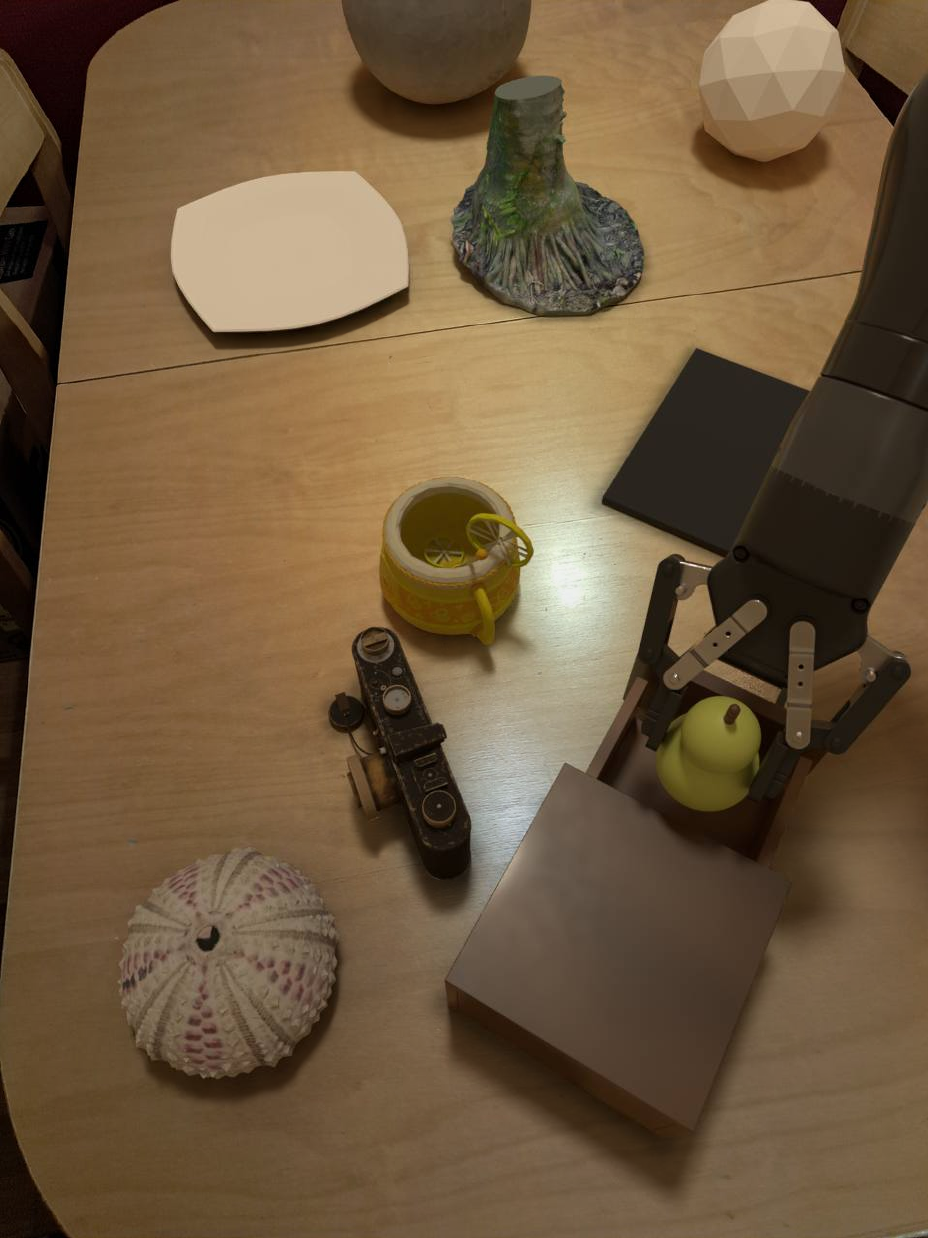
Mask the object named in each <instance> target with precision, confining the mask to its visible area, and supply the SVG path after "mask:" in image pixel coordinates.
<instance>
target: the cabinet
mask: <svg viewBox="0 0 928 1238" xmlns="http://www.w3.org/2000/svg"><path fill="white" fill-rule="evenodd" d="M792 885H793V880H792V879H790V878H788V877H786V876H785V875H782V874H780V873H778V872H776V871H774V870H772V869H771V868H770V867H769V868H767V867H765V866H763V865H761V864H759V863H757V862H755V861H753V860H751V859H749V858H748V857H746V856H744V855H742V854H740V853H738V852H736V851H734V850H732V849H730V848H728V847H726V846H725V845H723V844H721V843H719V842H717V841H715V840H713V839H711V838H709V837H707V836H705V835H703V834H701V833H700V832H698V831H696V830H694V829H692V828H690V827H688V826H686V825H684V824H682V823H680V822H678V821H677V820H675V819H673V818H671V817H669V816H667V815H665V814H663V813H661V812H659V811H657V810H655V809H654V808H652V807H650V806H648V805H646V804H644V803H642V802H640V801H638V800H636V799H634V798H632V797H630V796H629V795H627V794H625V793H623V792H621V791H619V790H617V789H615V788H613V787H611V786H609V785H607V784H606V783H604V782H602V781H600V780H598V779H596V778H594V777H592V776H590V775H588V774H586V772H584V771H583V770H581V769H578V768H577V767H575V766H573V765H571V764H569V763H567V762H564V764H562V766H561V769H560V771H559V772H558V775H557V776H556V778H555V780H554V782H553V784H552V785H551V787H550V789H549V791H548V792H547V794H546V796H545V798H544V799H543V802H542V803H541V805H540V806H539V809H538V811H537V812H536V814H535V816H534V818H533V820H532V821H531V823H530V825H529V827H528V829H526V833H525V834H524V836H523V837H522V839H521V841H520V843H519V845H518V847H517V849H516V850H515V852H514V854H513V856H512V857H511V859H510V861H509V863H508V865H507V867H506V868H505V870H504V872H503V874H502V875H501V877H500V879H499V881H498V883H497V884H496V886H495V888H494V890H493V892H492V894H491V895H490V897H489V899H488V900H487V903H486V905H485V906H484V908H483V910H482V911H481V914H480V915H479V917H478V919H477V920H476V923H475V925H474V926H473V928H472V930H471V932H470V933H469V935H468V937H467V938H466V941H465V943H463V946H462V948H461V949H460V951H459V953H458V955H457V957H456V958H455V961H454V962H453V964H452V966H451V967H450V969H449V971H448V973H447V975H446V977H445V979H444V985H445V994H446V1004H447V1006H448V1007H449V1008H451V1009H452V1010H454V1011H456V1012H457V1013H459V1014H460V1015H462V1016H464V1017H465V1018H467V1019H468V1020H471V1021H472V1022H474V1023H475V1024H477V1025H478V1026H480V1027H482V1028H483V1029H484V1030H487V1031H488V1032H490V1033H492V1034H493V1035H495V1036H496V1037H498V1038H499V1039H501V1040H502V1041H505V1042H506V1043H507V1044H509V1045H511V1046H512V1047H514V1048H516V1049H517V1050H519V1051H520V1052H522V1053H524V1054H526V1055H527V1056H529V1057H530V1058H532V1059H533V1060H535V1061H537V1062H539V1063H540V1064H542V1065H543V1066H545V1067H546V1068H548V1069H550V1070H551V1071H553V1072H554V1073H556V1074H558V1075H559V1076H561V1077H563V1078H564V1079H566V1080H567V1081H569V1082H570V1083H573V1084H574V1085H576V1087H577V1086H578V1087H579V1088H581V1090H584V1091H586V1092H587V1093H588V1094H590V1095H592V1096H593V1097H595V1098H597V1099H598V1100H600V1101H601V1102H603V1103H605V1104H606V1105H608V1106H610V1107H611V1108H612V1109H614V1110H616V1111H618V1112H619V1113H621V1114H623V1115H624V1116H625V1117H628V1118H629V1119H630V1120H632V1121H634V1122H635V1123H637V1124H639V1125H641V1126H642V1127H644V1128H645V1129H647V1130H648V1131H650V1132H651V1133H653V1134H655V1135H657V1136H659V1137H660V1138H662V1139H665V1138H672V1137H677V1136H682V1135H686V1134H692V1133H695V1131H696V1128H697V1125H698V1123H699V1120H700V1118H701V1116H702V1113H703V1110H704V1108H705V1105H706V1103H707V1100H708V1098H709V1095H710V1093H711V1090H712V1087H713V1086H714V1084H715V1079H716V1078H717V1075H718V1072H719V1070H720V1067H721V1066H722V1065H721V1064H722V1062H723V1060H724V1058H725V1054H726V1053H727V1049H728V1048H729V1044H730V1043H731V1040H732V1037H733V1035H734V1032H735V1029H736V1026H737V1024H738V1022H739V1019H740V1016H741V1014H742V1012H743V1010H744V1006H745V1004H746V1001H747V999H748V996H749V995H750V994H749V993H750V992H751V989H752V986H753V984H754V982H755V979H756V976H757V974H758V972H759V969H760V967H761V966H760V965H762V961H763V958H764V956H765V953H766V951H767V948H768V946H769V943H770V941H771V938H772V936H773V934H774V931H775V928H776V925H777V924H778V921H779V918H780V915H781V913H782V910H783V907H784V905H785V903H786V900H787V897H788V895H789V892H790V890H791V887H792Z"/></svg>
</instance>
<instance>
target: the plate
mask: <svg viewBox="0 0 928 1238" xmlns="http://www.w3.org/2000/svg"><path fill="white" fill-rule="evenodd" d="M172 229H173V230H172V234H171V239H170V240H171V241H170V262H171V264H170V265H171V271H172V272H171V273H172V275H173V277H174V278H175V281H176V283H177V285H178V288H179V289H180V291H181V292H182V294H183V296H184V298H185V299H186V301H187V302H188V304H189V305H190V306H191V307H192V309H193V310H194V311H195V312H196V314H197V315H198V316H199V317H200V319H201V320H202V321H203V322H204V323H205V324H206V326H207V327H208V328H209V329H210V330H211V331H212V332H213V333H214V334H244V333H246V334H247V333H270V332H271V333H273V332H282V331H283V332H284V331H292V330H301V329H305V328H311V327H316V326H320V325H324V324H328V323H331V322H335V321H337V320H341V319H343V318H346V317H349V316H351V315H353V314H356V313H359V312H361V311H364V310H366V309H369V308H370V307H373V306H374V305H376V304H378V303H380V302H383V301H384V300H387V299H388V298H390V297H392V296H394V295H396V294H398V293H400V292H403V291H404V290H407V289H408V288H409V275H410V267H409V250H408V243H407V237H406V232H405V230H404V226H403V223H402V221H401V219H400V218H399V215H398V214H397V213H396V212H395V209H393V207H392V206H391V205H390V204H389V202H387V199H385V198H384V196H382V195H381V193H379V192H378V191H377V189H375V188H374V187H373V186H372V184H370V183H369V182H368V181H367V180H366V179H364V178H363V176H361V175H360V174H359V173H358V172H356V171H355V170H339V171H337V170H336V171H332V170H331V171H330V170H329V171H304V172H303V171H302V172H291V173H290V172H289V173H280V174H275V175H274V174H273V175H268V176H262V177H259V178H255V179H250V180H246V181H243V182H240V183H237V184H234V185H232V186H229V187H226V188H222V189H219V190H218V191H215V192H213V193H211V194H208V195H205V196H203V197H201V198H199V199H196V200H193V201H191V202H189V203H187V204H184V205H182V206H179V207H178V208H177V209H176V214H175V217H174V222H173V228H172Z"/></svg>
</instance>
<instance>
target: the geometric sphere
mask: <svg viewBox="0 0 928 1238" xmlns="http://www.w3.org/2000/svg"><path fill="white" fill-rule="evenodd" d="M841 44H842V43H841V39H840V33H839V31H838V29H837V28H836V27H835V26H834V25H832V24H831V23H830V21H828V19H826V17H824V16H823V15H822V14H821V12H819V10H817V8H815V6H814V5H812V4H811V2H810V1H803V0H766V1H764V2H761V3H758V4H757V5H754V6H752V7H749V8H747V9H745V10H743V11H740V12H737V13H735V14H733V15H732V16H731V17H730V19H729V20H728V21H727V23H726V24H725V25H724V26H723V28H722V29H721V30H720V31H719V33H718V34H717V35H716V37H715V38H714V39H713V40H712V42H711V43H710V44H709V45H708V46H707V48H706V49H705V50H704V51H703V58H702V63H701V69H700V75H699V81H698V92H699V100H700V108H701V113H702V122H703V127H704V131H705V133H707V134H709V135H710V136H711V137H712V138H713V139H714V140H716V141H717V142H718V143H719V144H721V145H722V146H723V147H725V149H727V150H728V151H729V152H730V153H731V154H732V155H735V156H738V157H742V158H746V159H751V160H755V161H759V162H761V163H762V162H763V163H767V162H769V161H772V160H775V159H778V158H780V157H783V156H785V155H788V154H791V153H794V152H797V151H799V150H802V149H805V148H806V147H807V146H808V144H810V142H811V141H812V140H813V139H814V138H815V137H816V135H818V133H819V132H820V131H821V130H822V128H823V127H824V126H825V125H826V124H827V123H828V122H829V121H830V120H831V119H832V118H833V116H834V115H835V114H836V111H837V108H838V103H839V100H840V95H841V92H842V87H843V84H844V79H845V77H846V67H845V62H844V56H843V50H842V45H841Z"/></svg>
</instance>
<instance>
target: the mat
mask: <svg viewBox="0 0 928 1238" xmlns="http://www.w3.org/2000/svg"><path fill="white" fill-rule="evenodd" d="M810 391H811V390H808V389H806V388H804V387H800V386H799V385H795V384H792V383H790V382H787V381H784V380H783V379H780V378H777V377H774V376H772V375H769V374H766V373H763V372H761V371H758V370H756V369H753V368H751V367H748V366H745V365H743V364H740V363H737V362H735V361H732V360H729V359H727V358H724V357H721V356H718V355H716V354H714V353H712V352H708V351H705V350H703V349H700V348H698V347H696V348H695V349H694V351H693V352H692V354H691V355H690V357H689V359H688V360H687V361H686V363H685V365H684V366H683V368H682V370H681V371H680V373H679V374H678V376H677V377H676V379H675V381H674V382H673V384H672V386H671V388H670V389H669V390H668V392H667V393H666V395H665V396H664V397H663V400H662V402H661V403H660V405H659V407H658V408H657V409H656V411H655V413H654V414H653V416H652V417H651V419H650V421H649V422H648V424H647V425H646V427H645V428H644V430H643V432H642V434H641V435H640V436H639V438H638V440H637V441H636V443H635V445H634V446H633V448H632V449H631V451H630V453H629V454H628V455H627V457H626V459H625V461H624V462H623V464H622V465H621V467H620V468H619V469H618V472H617V473H616V475H615V476H614V478H613V480H612V481H611V483H610V484H609V486H608V487H607V489H606V491H605V492H604V493H603V495H602V498H601V503H602V504H604V505H607V506H609V507H610V508H611V507H612V508H613V509H617V510H618V511H621V512H622V513H626V514H627V515H630V516H632V517H635V518H637V519H639V520H641V521H642V522H643V521H644V522H646V523H648V524H651V525H653V526H655V527H658V528H659V529H662V530H664V531H666V532H668V533H671V534H673V535H675V536H678V537H680V538H683V539H684V540H687V541H689V542H692V543H694V544H696V545H699V546H701V547H703V548H706V549H707V550H710V551H711V552H715V553H716V554H719V555H721V556H723V557H726V556H727V555H728V553H729V552H730V550H731V548H732V546H733V544H734V542H735V540H736V538H737V536H738V534H739V531H740V529H741V527H742V525H743V523H744V521H745V519H746V517H747V515H748V512H749V510H750V508H751V506H752V504H753V502H754V500H755V498H756V496H757V493H758V491H759V489H760V487H761V485H762V483H763V481H764V479H765V476H766V474H767V472H768V470H769V468H770V466H771V464H772V462H773V460H774V457H775V455H776V453H777V449H778V447H779V445H780V443H781V442H782V440H783V438H784V436H785V434H786V432H787V430H788V428H789V426H790V424H791V422H792V420H793V418H794V416H795V414H796V413H797V411H798V409H799V408H800V406H801V405H802V403H803V402H804V400H805V399H806V397H807V396H808V394H809V392H810Z"/></svg>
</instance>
